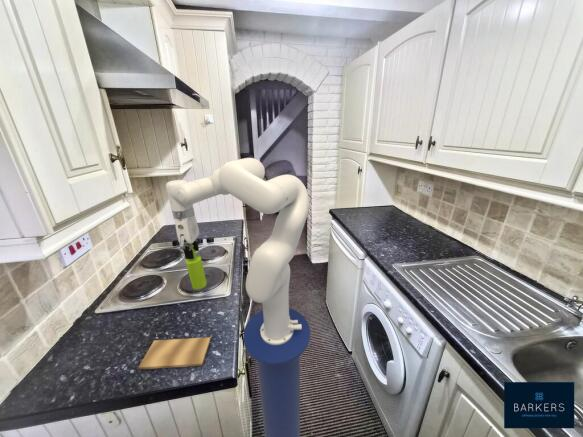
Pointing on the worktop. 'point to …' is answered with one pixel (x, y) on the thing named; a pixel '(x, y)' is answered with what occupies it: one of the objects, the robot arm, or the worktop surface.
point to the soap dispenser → (196, 271)
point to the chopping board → (176, 353)
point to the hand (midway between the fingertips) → (192, 254)
